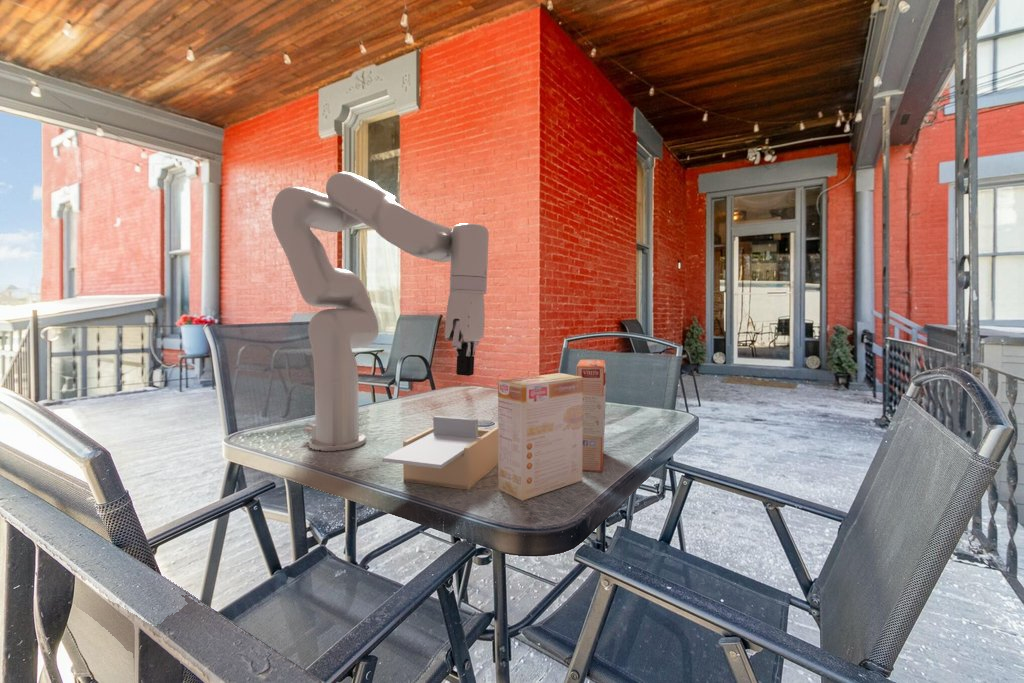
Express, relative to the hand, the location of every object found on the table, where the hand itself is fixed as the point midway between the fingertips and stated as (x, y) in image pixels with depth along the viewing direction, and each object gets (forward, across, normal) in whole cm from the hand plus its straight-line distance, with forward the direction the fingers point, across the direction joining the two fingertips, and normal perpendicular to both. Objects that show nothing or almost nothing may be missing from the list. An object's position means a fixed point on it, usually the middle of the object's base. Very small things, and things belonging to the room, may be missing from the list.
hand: (464, 374), depth 97 cm
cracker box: (+17, -8, +26) cm, 32 cm away
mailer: (+18, +6, +2) cm, 19 cm away
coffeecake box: (+17, +9, +20) cm, 28 cm away
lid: (+12, +15, +1) cm, 19 cm away
